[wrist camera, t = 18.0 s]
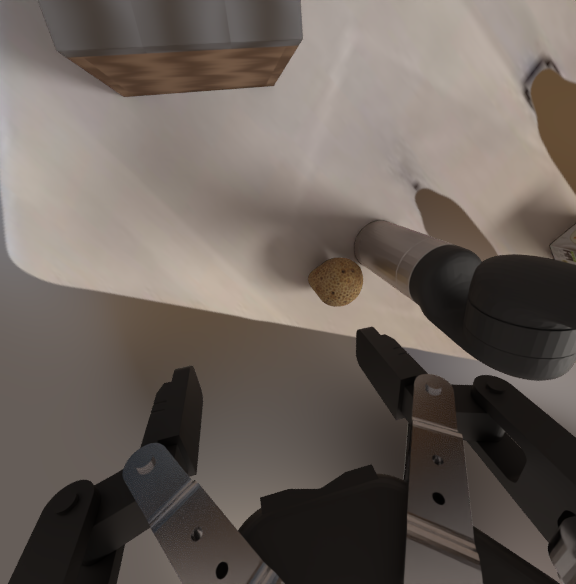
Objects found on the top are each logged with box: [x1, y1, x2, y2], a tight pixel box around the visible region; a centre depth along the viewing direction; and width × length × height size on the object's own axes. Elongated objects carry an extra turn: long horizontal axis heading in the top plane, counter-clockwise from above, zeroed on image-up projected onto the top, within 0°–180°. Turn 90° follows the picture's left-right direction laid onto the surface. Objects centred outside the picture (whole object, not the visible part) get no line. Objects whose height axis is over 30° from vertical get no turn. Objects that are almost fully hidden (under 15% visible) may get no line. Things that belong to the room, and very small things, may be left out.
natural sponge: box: [308, 258, 363, 306], centre depth 48 cm, size 9×9×10 cm
